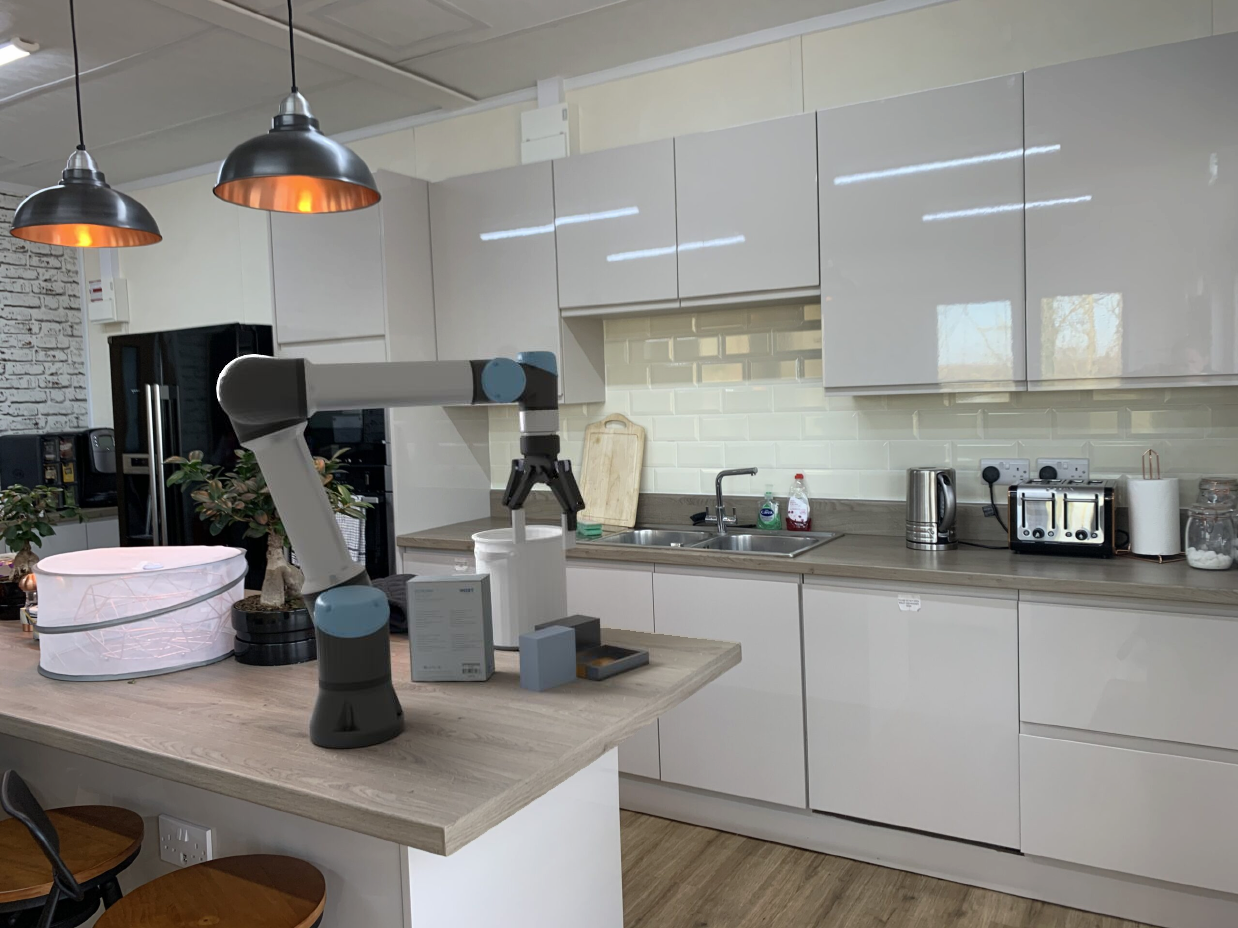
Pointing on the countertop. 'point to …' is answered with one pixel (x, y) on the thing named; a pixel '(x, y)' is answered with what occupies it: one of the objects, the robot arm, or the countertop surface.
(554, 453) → the robot arm
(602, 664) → the tray
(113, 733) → the countertop surface
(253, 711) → the countertop surface
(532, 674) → the block
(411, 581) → the hard drive box
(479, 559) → the bucket
